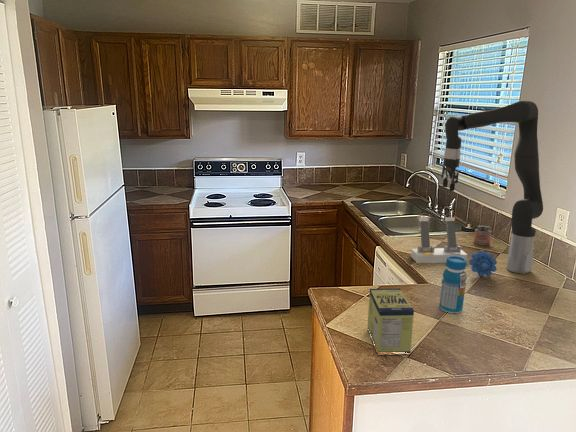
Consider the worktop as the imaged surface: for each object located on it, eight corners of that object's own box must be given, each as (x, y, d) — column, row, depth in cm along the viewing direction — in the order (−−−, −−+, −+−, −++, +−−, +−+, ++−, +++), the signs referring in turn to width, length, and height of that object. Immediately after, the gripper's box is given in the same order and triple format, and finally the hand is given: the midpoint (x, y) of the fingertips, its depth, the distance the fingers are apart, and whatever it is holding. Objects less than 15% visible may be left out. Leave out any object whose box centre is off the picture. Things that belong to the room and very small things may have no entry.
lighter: (473, 243, 230) (475, 225, 227) (473, 241, 233) (476, 224, 230) (489, 245, 226) (492, 227, 224) (489, 244, 229) (492, 226, 226)
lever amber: (429, 251, 207) (427, 218, 210) (431, 251, 205) (428, 217, 208) (420, 251, 207) (418, 218, 210) (422, 251, 205) (419, 217, 208)
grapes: (469, 279, 186) (473, 253, 183) (466, 273, 192) (469, 247, 189) (498, 281, 184) (502, 255, 181) (493, 274, 191) (497, 249, 187)
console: (458, 255, 213) (459, 242, 211) (466, 262, 204) (468, 249, 203) (410, 256, 212) (411, 243, 210) (416, 263, 203) (418, 250, 201)
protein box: (396, 329, 147) (400, 287, 143) (410, 355, 132) (415, 310, 128) (366, 329, 147) (369, 287, 142) (377, 356, 132) (380, 310, 127)
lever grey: (456, 251, 208) (453, 217, 210) (457, 251, 206) (455, 217, 209) (447, 251, 208) (444, 217, 210) (448, 251, 206) (446, 217, 208)
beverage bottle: (441, 313, 157) (447, 262, 151) (436, 302, 165) (442, 254, 160) (465, 315, 156) (472, 264, 150) (459, 304, 164) (465, 255, 158)
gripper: (439, 155, 221) (435, 185, 225) (450, 159, 207) (446, 192, 212) (453, 155, 221) (449, 185, 226) (465, 159, 207) (461, 192, 212)
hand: (448, 188), depth 219 cm, fingers open, 8 cm apart
